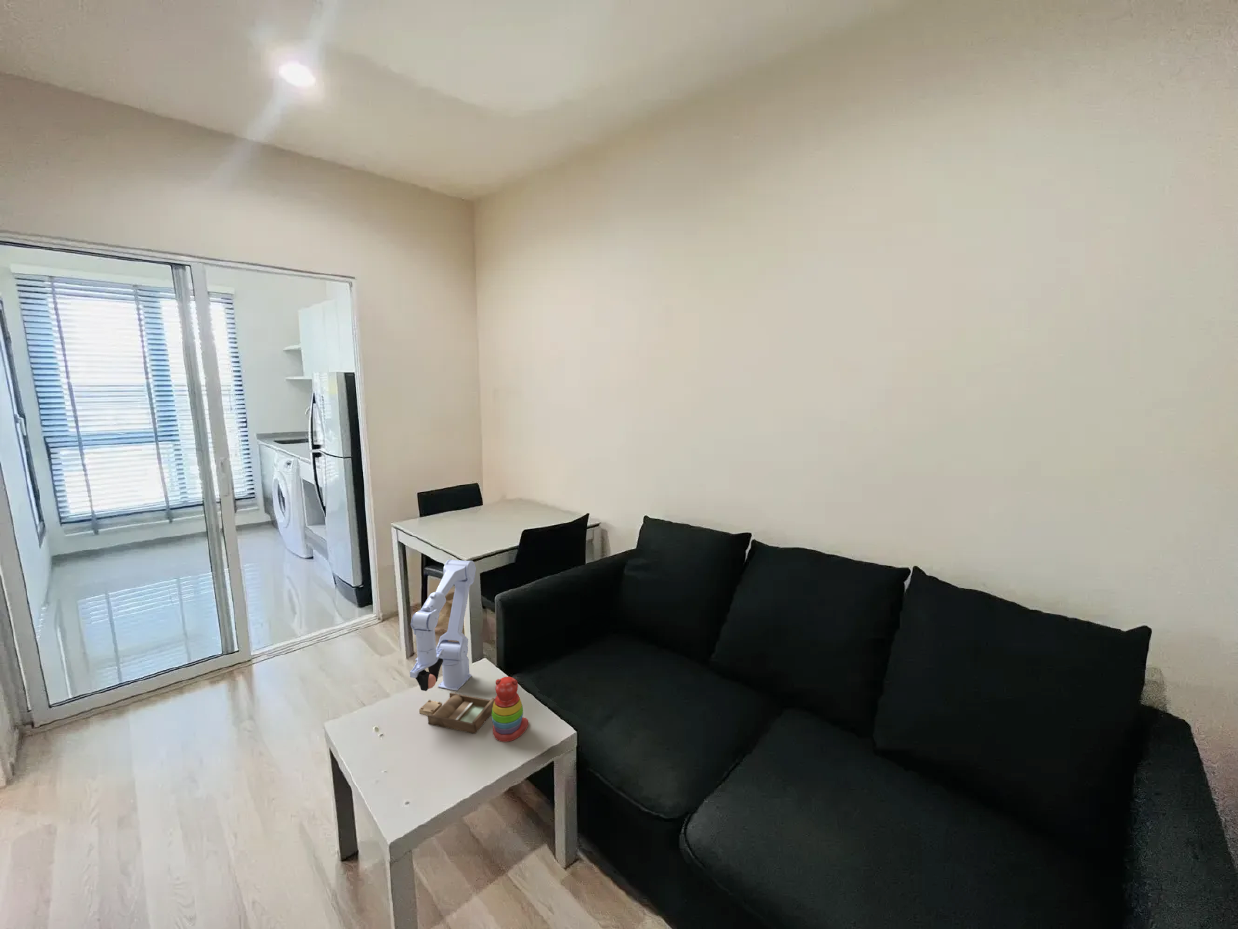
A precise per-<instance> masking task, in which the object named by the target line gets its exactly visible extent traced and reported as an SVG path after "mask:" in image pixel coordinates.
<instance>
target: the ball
mask: <svg viewBox="0 0 1238 929" xmlns="http://www.w3.org/2000/svg"><path fill="white" fill-rule="evenodd" d="M436 683H437V682H436V677H435V676H434V675H432V674H430V675H429V679H428V690H429V689H432V688H433V687H434V686H436Z"/></svg>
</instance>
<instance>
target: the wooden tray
mask: <svg viewBox="0 0 1238 929" xmlns="http://www.w3.org/2000/svg"><path fill="white" fill-rule="evenodd" d="M495 698H496V697H492V698H491V699H486V698H481V697H475V696H470V695H465V694H460V693H456V692H449V698H448V699H447V700H446V701H445V702H444V703H442V706H441V707H440V708H439V709H438V710H437V711H436V712H435V713H434V714H433V715H431V714H429V715H427V724H428V725H432V726H436V727H440V728H446V729H451V730H455V731H460V732H465V733H470V734H473V735H476V734H477V733H478V732H479V730H480V729H481V728H482V726H483V725H484V724H485V723H486V721H488V720H489V717H491V716H492V708H493V703H494V700H495Z"/></svg>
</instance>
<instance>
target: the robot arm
mask: <svg viewBox="0 0 1238 929" xmlns="http://www.w3.org/2000/svg"><path fill="white" fill-rule="evenodd" d="M442 570H443V572H442V573H443V576H442V577H441V580H440V582H439V584H438V586H437V588H436V590H435V591H434V592H431V593H430V594H429V595H428V597H427V599H426V600H425V602H424V603H423V605H422V607H421V609H420V610H417V612H415V613H413V615H412V617H411V621H410V627H411V629H412V631H413V635H415V640H416V641H415V642H416V656H417V657H416V658H415V660H414V661H415V664H414V666H413V667H412V669H411V670H410V671H409V677H410V678H412V679H415V680H416V681H417V683H418V686H419V688H420V690H421V691H424V692H427V691H428V690H429V689H428V679H429V675H430V674H432V675H434V676H435V677H436V683H437V682H438V680H439V674H440V670H442V681H441V682H440V683H439V684H438V685H437V688H441V689H447V690H452V691H459V689H460V688H462V687H463V685H464V684H465V683H466V682H468V681H469V679H470V678H471V677H472V676H473V675H472V673H470V660H469V656H468V653H469V645H468V644H469V639H468V638H467V636H466V635H465V634H464V633H463V628H464V622H465V617H466V616H465V615H466V610H467V605H468V598H469V593H470V586H471V585H473V584H474V582H475V577H476V572H477V567H476V564H475V562H474V561H473V560H462V559H461V560H459V559H458V560H457V559H452V558H450V559H447V560H446V561H445V563H444V566H443V569H442ZM453 586H454V593H453V598H452V604H451V610H450V615H449V619H448V625H447V631H446V632H445V633H443V634H442V635H440V637H439V640H438V643H437V642H436V641H437V640H436V631H435V630H436V627H437V626H438V622H439V618H440V613H441V611H442V609H443V607H444V606H445V604H446V602H447V599H446V596H447V595H448V593H449V592H450V590H451V589H452V588H453ZM426 669H428V671H427V670H426Z"/></svg>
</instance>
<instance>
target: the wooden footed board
mask: <svg viewBox="0 0 1238 929" xmlns="http://www.w3.org/2000/svg"><path fill="white" fill-rule="evenodd" d="M442 705H443V702H441V701H436V700H435V701H434V700H431V699H428V700H427V701H426V702H425V703H424V704H423V705H422V706H421V707H420V708H419V714H421V715H425V716H428V715H429V714H431V715H433V714H434V713H435V712H436V711H437V710H438V709H439V708H440V707H441V706H442Z"/></svg>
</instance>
